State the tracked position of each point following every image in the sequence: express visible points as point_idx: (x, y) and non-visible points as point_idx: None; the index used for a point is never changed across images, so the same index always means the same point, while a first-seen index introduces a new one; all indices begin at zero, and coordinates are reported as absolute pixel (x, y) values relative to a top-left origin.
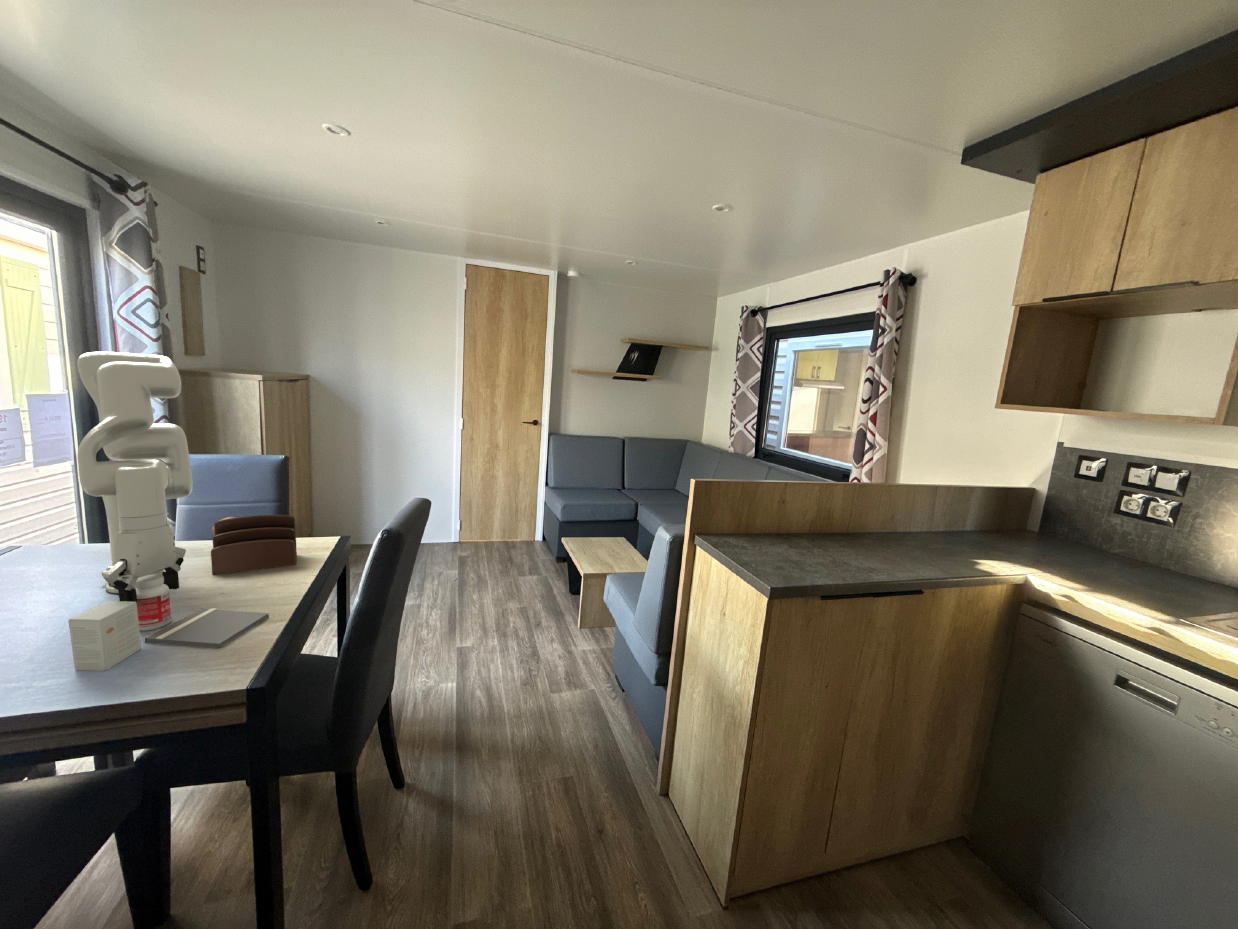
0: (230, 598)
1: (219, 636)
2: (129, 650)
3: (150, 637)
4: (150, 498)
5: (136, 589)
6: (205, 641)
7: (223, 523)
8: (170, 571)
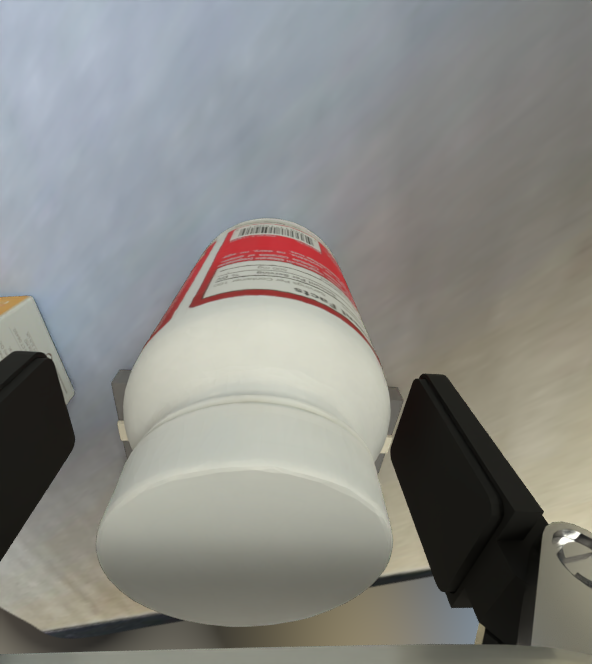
0: (535, 401)
1: None
2: None
3: (122, 398)
4: None
5: (167, 409)
6: None
7: None
8: (480, 591)
